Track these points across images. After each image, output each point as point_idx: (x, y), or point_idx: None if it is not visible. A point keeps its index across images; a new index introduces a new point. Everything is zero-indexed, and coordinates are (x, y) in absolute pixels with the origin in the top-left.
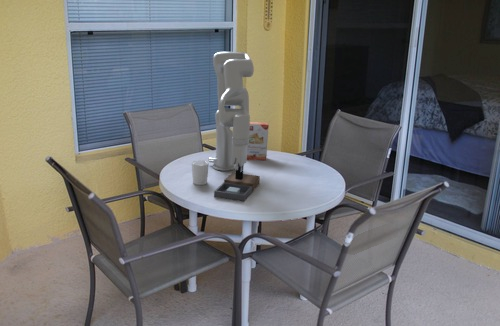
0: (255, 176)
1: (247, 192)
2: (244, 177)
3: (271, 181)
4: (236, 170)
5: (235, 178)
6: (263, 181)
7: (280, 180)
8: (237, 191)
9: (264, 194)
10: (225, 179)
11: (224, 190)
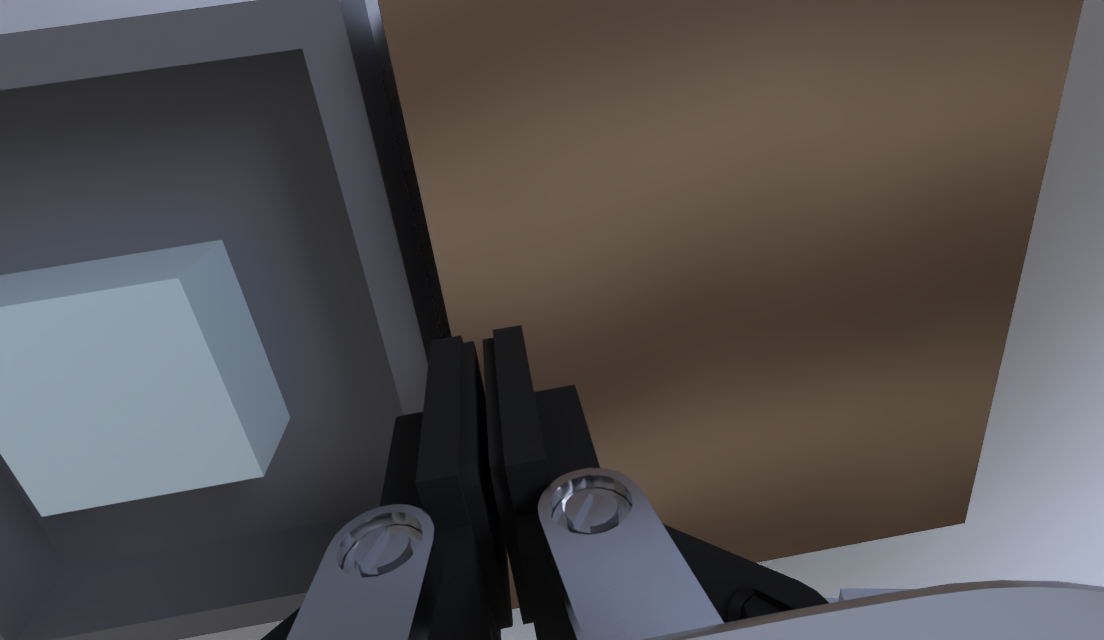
0: (920, 481)
1: (189, 629)
2: (790, 348)
3: (1018, 507)
4: (293, 615)
5: (432, 343)
6: (994, 431)
7: (1078, 566)
8: (83, 506)
9: (508, 632)
10: (413, 5)
11: (200, 116)
